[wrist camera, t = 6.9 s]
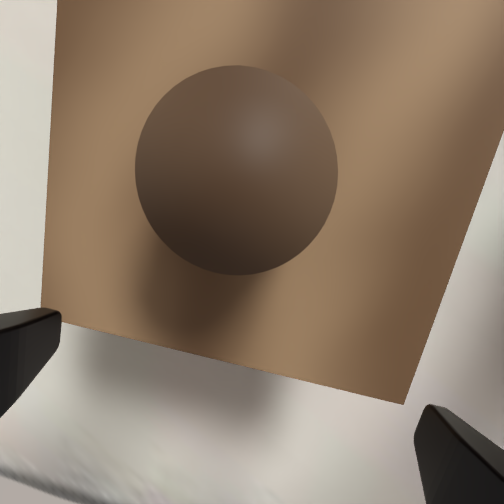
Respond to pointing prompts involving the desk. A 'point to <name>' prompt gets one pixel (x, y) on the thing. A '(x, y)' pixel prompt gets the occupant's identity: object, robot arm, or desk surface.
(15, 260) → the desk surface
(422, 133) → the lid
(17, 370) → the robot arm
